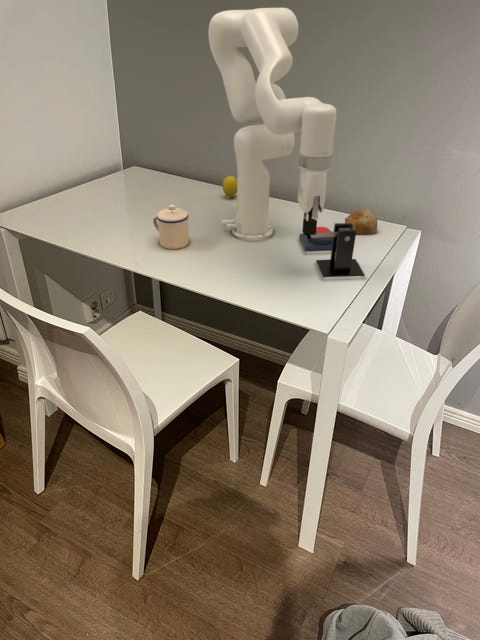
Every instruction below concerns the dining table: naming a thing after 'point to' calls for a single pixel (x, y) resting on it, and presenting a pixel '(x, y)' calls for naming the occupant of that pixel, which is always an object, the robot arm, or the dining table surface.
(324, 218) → the dining table surface
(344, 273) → the lever bracket
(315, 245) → the button housing
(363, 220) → the bread roll
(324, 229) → the button
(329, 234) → the lever
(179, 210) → the teacup with lid
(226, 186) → the lemon
